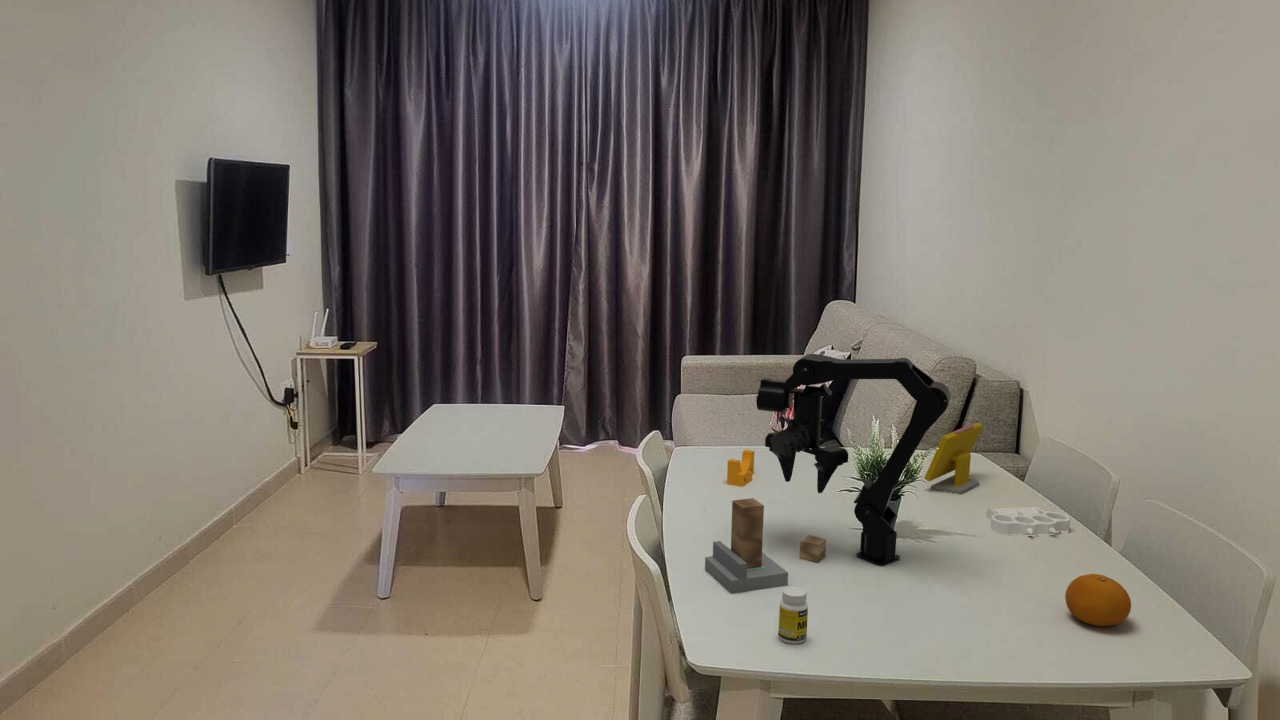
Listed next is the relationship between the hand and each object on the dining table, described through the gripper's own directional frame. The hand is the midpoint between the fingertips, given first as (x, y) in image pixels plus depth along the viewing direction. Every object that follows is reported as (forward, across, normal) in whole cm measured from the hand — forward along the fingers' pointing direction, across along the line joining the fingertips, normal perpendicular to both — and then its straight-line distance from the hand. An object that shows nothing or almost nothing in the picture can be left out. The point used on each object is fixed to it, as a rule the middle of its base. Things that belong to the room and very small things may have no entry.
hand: (803, 487), depth 195 cm
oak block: (+13, +6, -3) cm, 15 cm away
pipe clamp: (+13, -41, +22) cm, 48 cm away
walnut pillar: (+10, +5, -21) cm, 24 cm away
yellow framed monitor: (+13, -5, +63) cm, 65 cm away
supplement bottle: (+13, +28, -32) cm, 44 cm away
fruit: (+13, +55, +17) cm, 59 cm away
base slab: (+13, +5, -21) cm, 25 cm away
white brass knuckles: (+14, +22, +50) cm, 57 cm away
